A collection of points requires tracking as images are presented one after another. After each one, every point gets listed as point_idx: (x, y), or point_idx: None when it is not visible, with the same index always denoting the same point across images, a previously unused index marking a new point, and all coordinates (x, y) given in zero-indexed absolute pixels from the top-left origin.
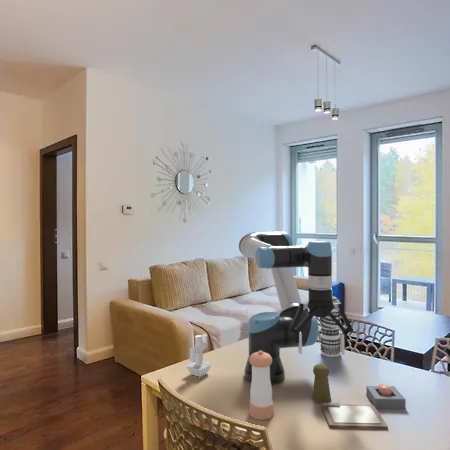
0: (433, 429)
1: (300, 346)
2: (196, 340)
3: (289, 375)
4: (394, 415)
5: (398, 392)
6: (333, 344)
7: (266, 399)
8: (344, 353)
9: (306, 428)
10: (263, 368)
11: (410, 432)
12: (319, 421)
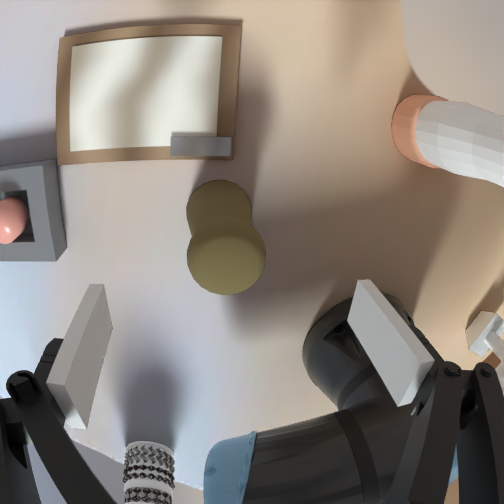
0: None
1: (385, 306)
2: None
3: (286, 354)
4: (19, 123)
5: None
6: (141, 467)
7: (446, 102)
8: (88, 287)
9: (314, 32)
10: None
11: (16, 39)
12: (263, 64)
